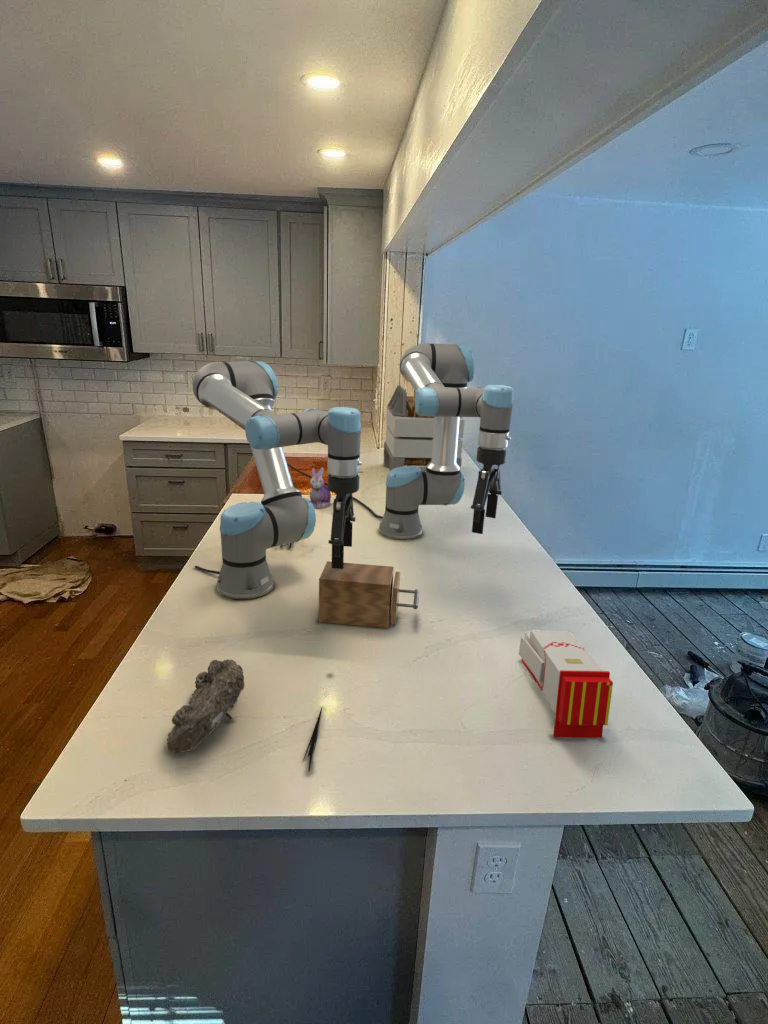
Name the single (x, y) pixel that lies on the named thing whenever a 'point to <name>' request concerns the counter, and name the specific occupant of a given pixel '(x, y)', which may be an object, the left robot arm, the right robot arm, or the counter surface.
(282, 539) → the left robot arm
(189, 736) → the fossil
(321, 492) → the figurine
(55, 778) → the counter surface
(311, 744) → the feather
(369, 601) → the cabinet
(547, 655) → the toy
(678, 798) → the counter surface
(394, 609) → the drawer
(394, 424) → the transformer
